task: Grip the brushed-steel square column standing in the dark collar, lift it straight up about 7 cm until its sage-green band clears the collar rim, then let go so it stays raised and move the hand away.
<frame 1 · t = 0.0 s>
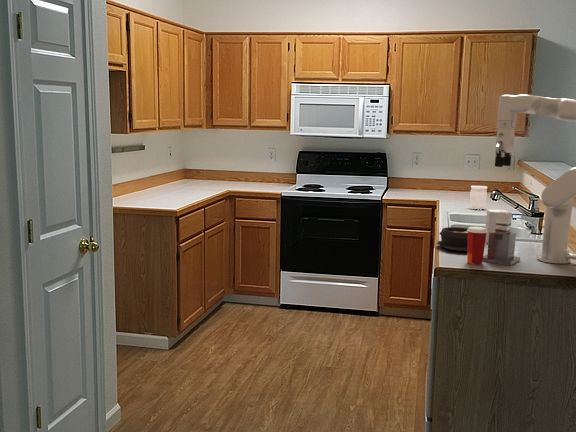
hand: (502, 166, 264), 37 cm above the counter, tool pointing down, fingers open, 9 cm apart
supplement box: (495, 243, 291), on the counter
stand: (500, 260, 252), on the counter
jar: (477, 209, 404), on the counter
casserole: (458, 249, 274), on the counter
paper cup: (474, 263, 246), on the counter
column: (502, 234, 250), point 11 cm above the counter, slide at 0.0 cm
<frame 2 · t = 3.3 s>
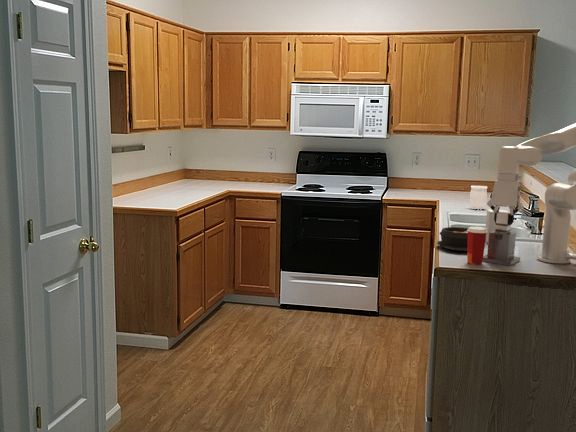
hand: (503, 223, 249), 15 cm above the counter, tool pointing down, fingers closed on column, 4 cm apart
column: (502, 235, 250), point 11 cm above the counter, slide at 0.0 cm, touching gripper
everything else where it was.
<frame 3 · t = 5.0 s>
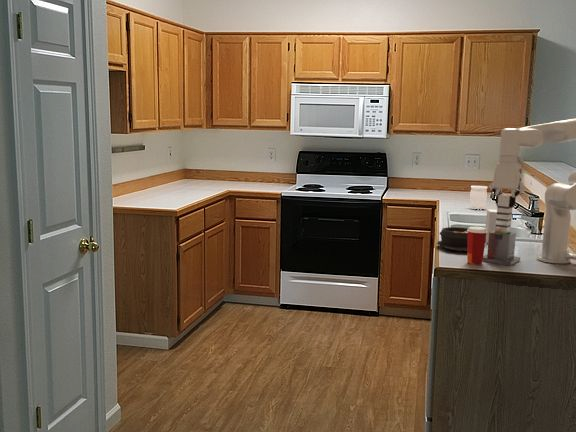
hand: (505, 205, 248), 22 cm above the counter, tool pointing down, fingers closed on column, 4 cm apart
column: (503, 217, 249), point 18 cm above the counter, slide at 6.9 cm, touching gripper
everything else where it was.
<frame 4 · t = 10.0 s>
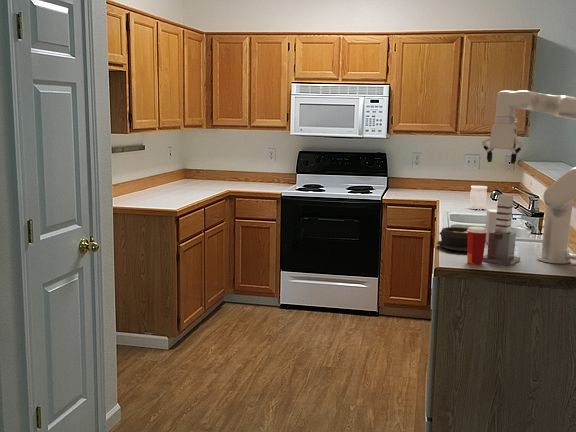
hand: (501, 162, 263), 38 cm above the counter, tool pointing down, fingers open, 9 cm apart
column: (503, 217, 249), point 18 cm above the counter, slide at 7.0 cm
everything else where it was.
at the end: column slide at 7.0 cm; the gripper is holding nothing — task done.
